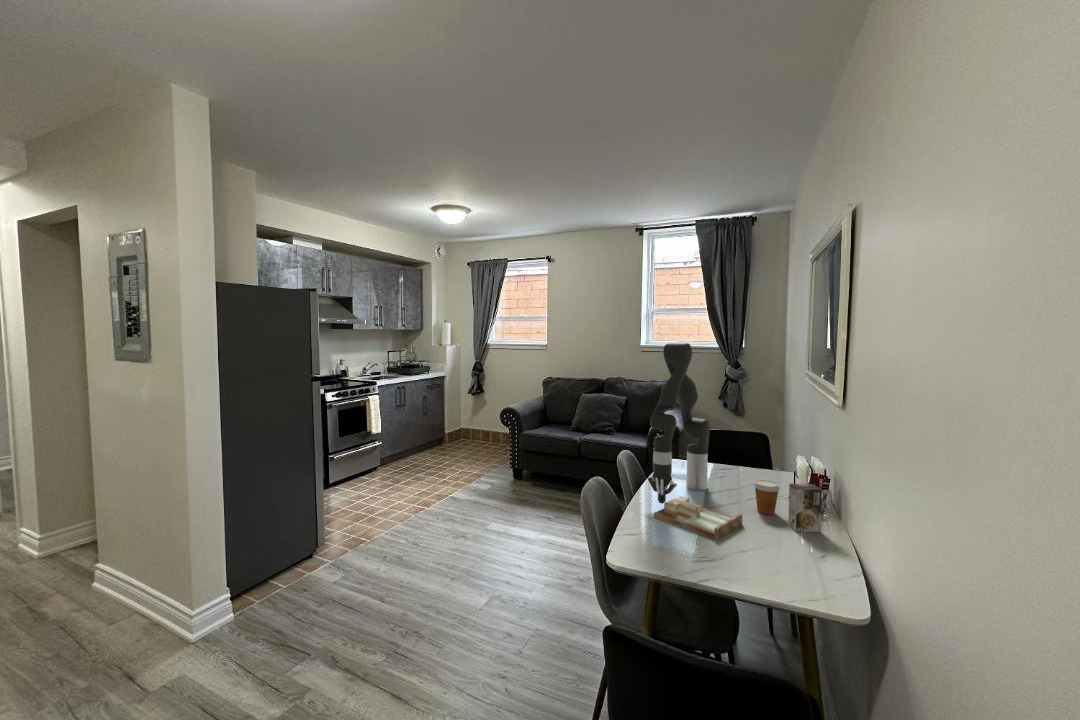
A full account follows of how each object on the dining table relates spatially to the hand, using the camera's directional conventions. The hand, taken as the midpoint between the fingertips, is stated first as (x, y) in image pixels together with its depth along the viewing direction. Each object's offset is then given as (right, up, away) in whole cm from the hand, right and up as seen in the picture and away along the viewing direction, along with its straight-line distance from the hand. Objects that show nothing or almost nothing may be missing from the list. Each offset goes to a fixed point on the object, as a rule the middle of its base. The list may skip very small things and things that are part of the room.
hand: (661, 502), depth 185 cm
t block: (+7, -1, -8) cm, 10 cm away
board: (+11, -3, -12) cm, 16 cm away
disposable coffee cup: (+42, -3, -2) cm, 43 cm away
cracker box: (+49, -4, -18) cm, 52 cm away
